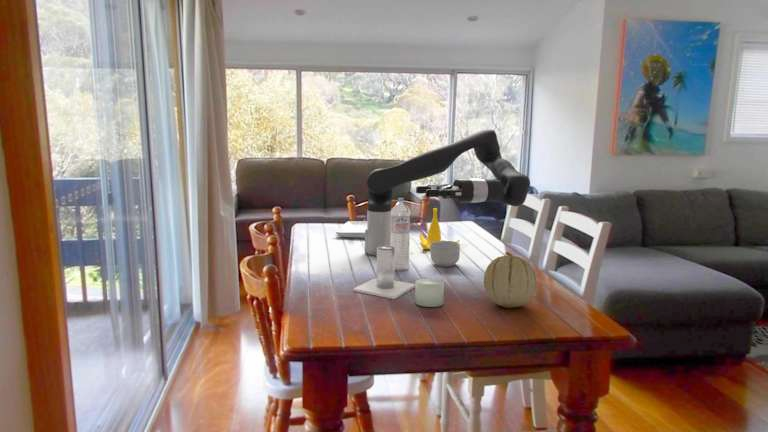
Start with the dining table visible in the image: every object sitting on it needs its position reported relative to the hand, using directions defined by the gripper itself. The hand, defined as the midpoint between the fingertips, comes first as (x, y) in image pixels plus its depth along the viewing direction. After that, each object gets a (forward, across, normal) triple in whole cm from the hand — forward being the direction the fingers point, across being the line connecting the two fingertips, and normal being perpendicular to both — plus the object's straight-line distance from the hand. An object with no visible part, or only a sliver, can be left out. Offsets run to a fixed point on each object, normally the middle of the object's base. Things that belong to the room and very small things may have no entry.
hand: (421, 191), depth 155 cm
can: (+11, 0, +29) cm, 31 cm away
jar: (+2, +16, +30) cm, 34 cm away
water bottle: (0, -21, +30) cm, 37 cm away
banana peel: (-27, -49, +30) cm, 64 cm away
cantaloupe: (-19, +23, +30) cm, 42 cm away
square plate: (-5, -81, +31) cm, 87 cm away
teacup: (-19, -24, +30) cm, 43 cm away
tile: (+11, 0, +30) cm, 32 cm away
